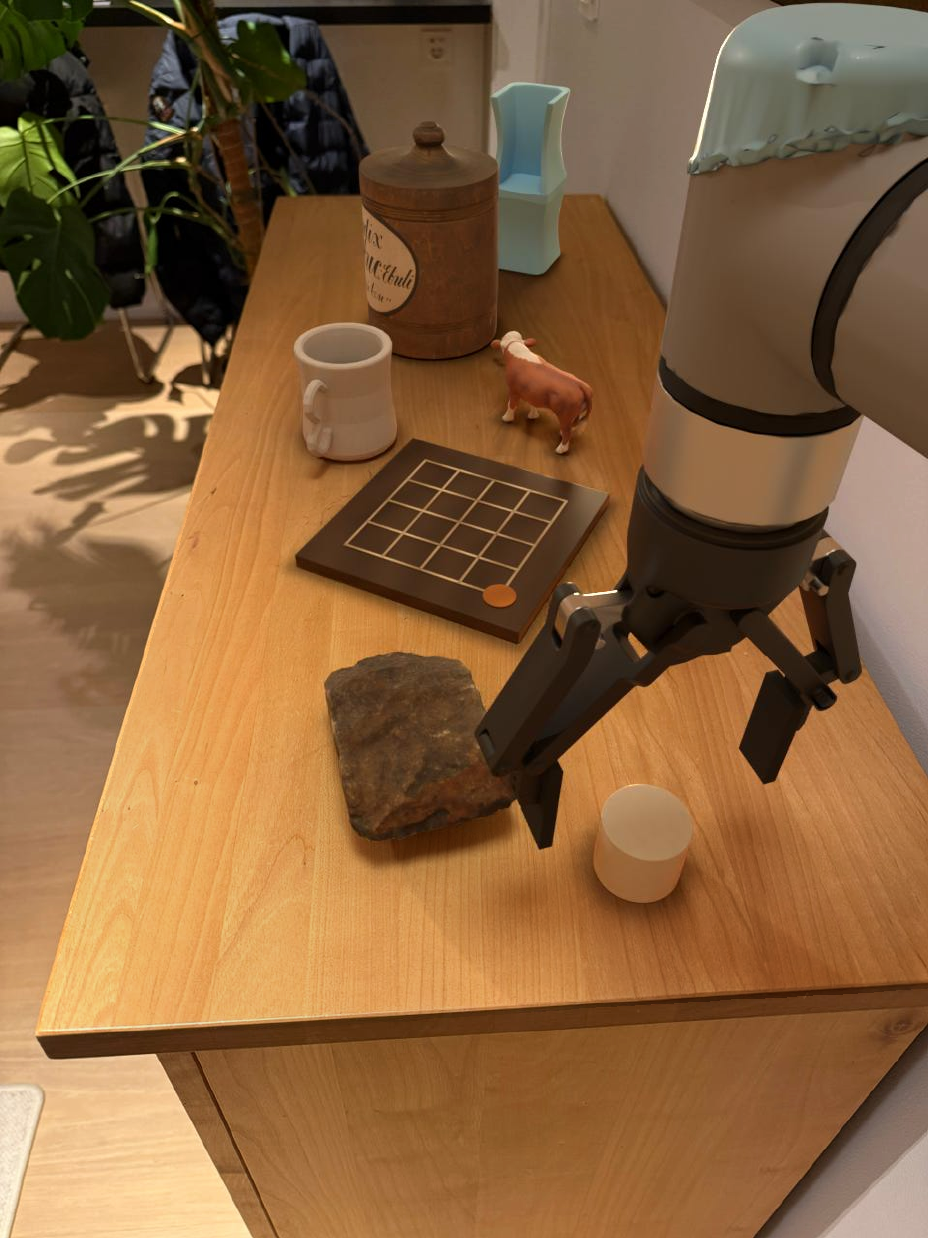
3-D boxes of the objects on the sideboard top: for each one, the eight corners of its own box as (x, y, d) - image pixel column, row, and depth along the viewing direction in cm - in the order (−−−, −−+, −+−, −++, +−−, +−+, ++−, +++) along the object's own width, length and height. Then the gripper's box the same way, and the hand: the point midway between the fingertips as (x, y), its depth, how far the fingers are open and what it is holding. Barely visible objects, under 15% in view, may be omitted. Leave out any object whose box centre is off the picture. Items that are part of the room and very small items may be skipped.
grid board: (608, 504, 82) (610, 492, 81) (518, 644, 69) (519, 631, 68) (413, 448, 88) (412, 436, 87) (296, 566, 75) (294, 553, 74)
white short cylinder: (690, 847, 56) (704, 804, 53) (664, 917, 52) (678, 875, 49) (610, 815, 57) (619, 771, 54) (580, 881, 54) (588, 838, 51)
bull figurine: (511, 393, 96) (515, 319, 90) (596, 450, 88) (606, 373, 83) (478, 405, 94) (479, 330, 89) (562, 464, 86) (570, 386, 81)
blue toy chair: (485, 266, 120) (489, 96, 107) (506, 245, 126) (512, 80, 112) (542, 276, 118) (553, 103, 104) (560, 254, 123) (574, 87, 110)
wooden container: (358, 311, 110) (343, 108, 95) (475, 297, 113) (479, 99, 98) (384, 368, 100) (372, 150, 85) (513, 351, 103) (523, 139, 88)
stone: (467, 681, 66) (461, 619, 62) (524, 831, 55) (521, 767, 52) (330, 713, 65) (315, 651, 61) (361, 873, 54) (345, 810, 50)
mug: (330, 407, 93) (321, 314, 87) (412, 425, 91) (409, 330, 84) (270, 471, 85) (254, 373, 78) (358, 492, 83) (350, 393, 76)
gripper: (932, 385, 41) (803, 695, 56) (403, 480, 35) (415, 799, 50) (1057, 476, 36) (880, 791, 51) (465, 605, 30) (457, 919, 45)
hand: (649, 795), depth 51 cm, fingers open, 13 cm apart
